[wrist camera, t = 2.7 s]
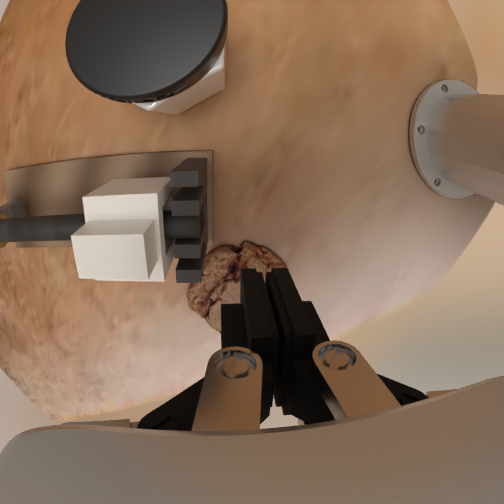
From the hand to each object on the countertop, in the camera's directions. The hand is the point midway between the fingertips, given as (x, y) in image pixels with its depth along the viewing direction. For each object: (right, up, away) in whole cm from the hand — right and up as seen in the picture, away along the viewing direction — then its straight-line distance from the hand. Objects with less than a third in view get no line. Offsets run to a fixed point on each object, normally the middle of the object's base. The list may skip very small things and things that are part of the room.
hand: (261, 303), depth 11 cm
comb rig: (-14, +7, +14) cm, 21 cm away
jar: (-6, +17, +10) cm, 21 cm away
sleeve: (-8, +5, +10) cm, 13 cm away
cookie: (-1, -2, +19) cm, 19 cm away
